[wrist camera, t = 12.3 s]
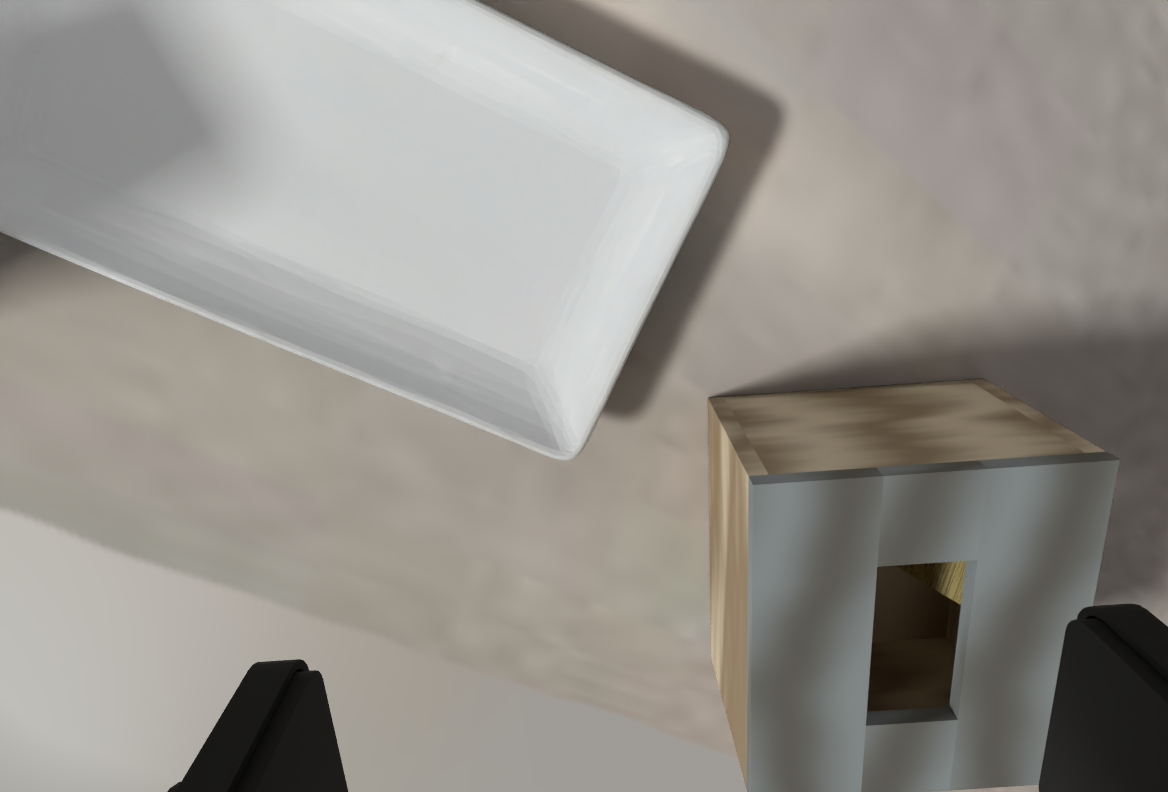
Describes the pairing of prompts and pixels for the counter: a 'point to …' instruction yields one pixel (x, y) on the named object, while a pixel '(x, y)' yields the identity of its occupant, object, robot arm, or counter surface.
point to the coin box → (896, 582)
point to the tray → (362, 188)
